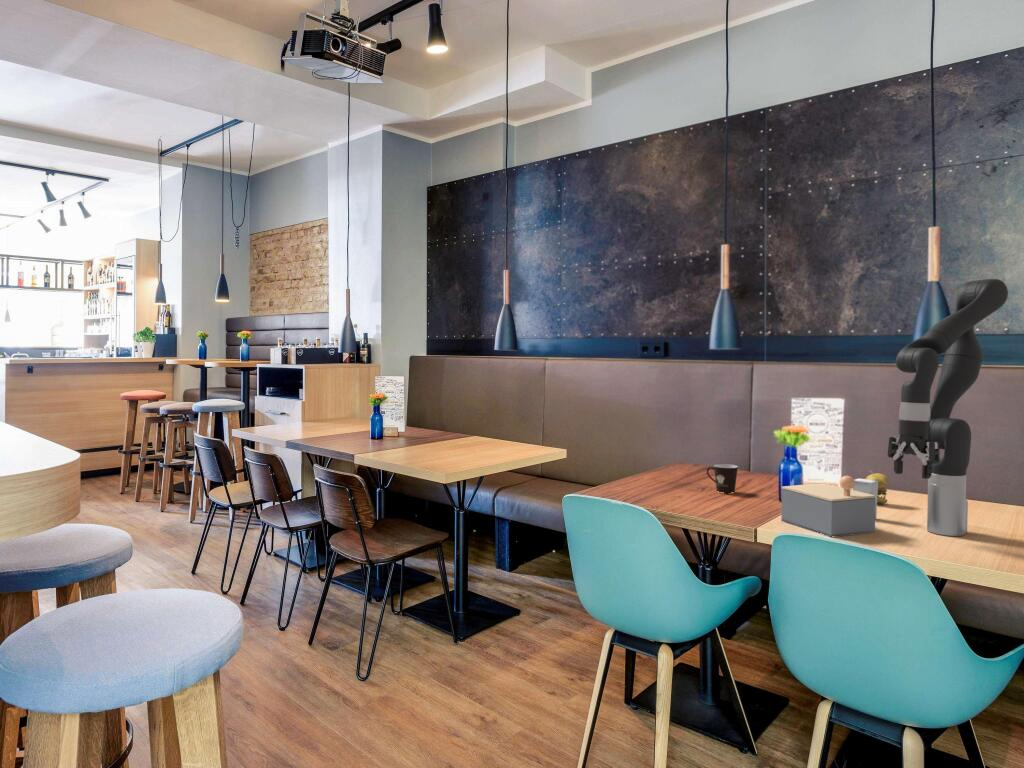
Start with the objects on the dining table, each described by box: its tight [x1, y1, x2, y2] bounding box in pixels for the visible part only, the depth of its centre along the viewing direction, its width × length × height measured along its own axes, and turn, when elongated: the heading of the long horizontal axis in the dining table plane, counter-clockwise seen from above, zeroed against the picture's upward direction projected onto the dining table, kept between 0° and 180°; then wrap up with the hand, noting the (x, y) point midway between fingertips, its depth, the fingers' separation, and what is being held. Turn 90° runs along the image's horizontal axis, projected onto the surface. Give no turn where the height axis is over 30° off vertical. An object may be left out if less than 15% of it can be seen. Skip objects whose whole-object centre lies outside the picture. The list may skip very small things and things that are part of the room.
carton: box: [780, 488, 876, 538], centre depth 198 cm, size 16×20×10 cm
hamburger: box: [864, 470, 890, 505], centre depth 228 cm, size 8×7×12 cm
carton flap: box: [781, 475, 876, 502], centre depth 198 cm, size 16×20×6 cm
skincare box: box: [852, 478, 878, 520], centre depth 208 cm, size 6×4×12 cm
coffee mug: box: [706, 463, 739, 493], centre depth 250 cm, size 12×9×10 cm
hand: (911, 475), depth 186 cm, fingers open, 8 cm apart
